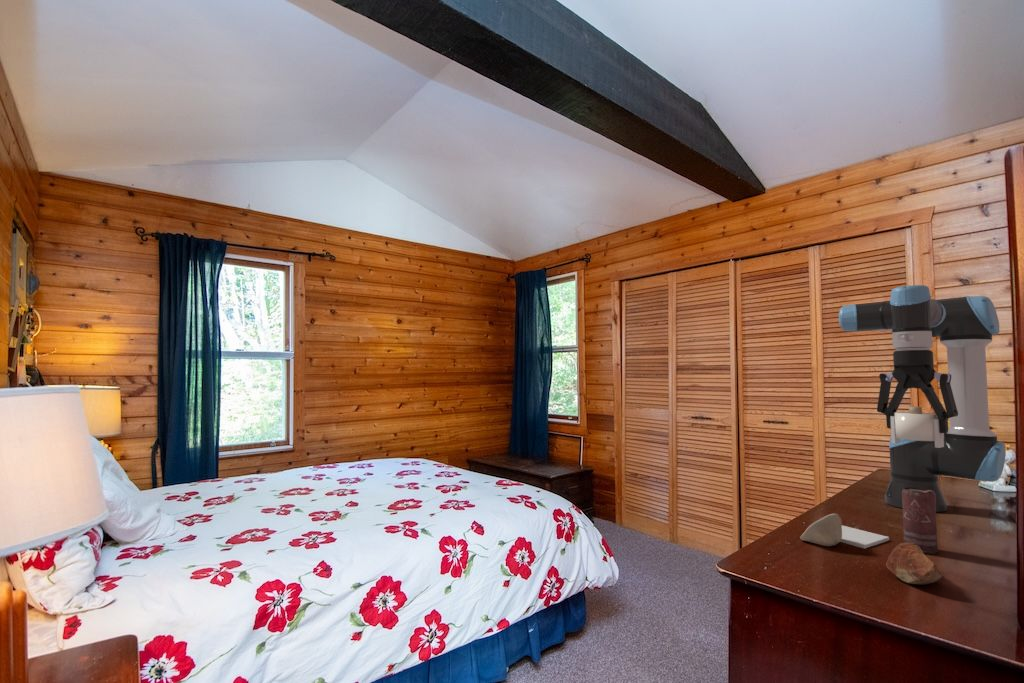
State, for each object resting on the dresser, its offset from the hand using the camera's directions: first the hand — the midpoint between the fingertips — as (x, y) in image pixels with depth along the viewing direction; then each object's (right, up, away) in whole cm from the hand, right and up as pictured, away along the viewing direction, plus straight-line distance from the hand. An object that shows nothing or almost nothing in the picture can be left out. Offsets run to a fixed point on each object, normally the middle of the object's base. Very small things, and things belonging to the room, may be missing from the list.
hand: (917, 444), depth 119 cm
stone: (-21, -25, +2) cm, 33 cm away
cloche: (0, +1, 0) cm, 1 cm away
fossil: (-16, -24, -19) cm, 34 cm away
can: (0, -25, -2) cm, 25 cm away
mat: (-11, -25, +7) cm, 28 cm away
